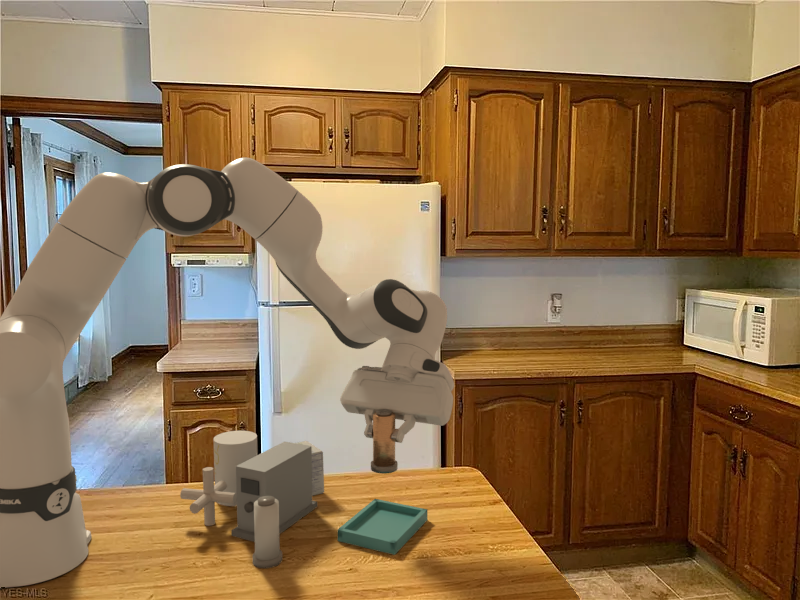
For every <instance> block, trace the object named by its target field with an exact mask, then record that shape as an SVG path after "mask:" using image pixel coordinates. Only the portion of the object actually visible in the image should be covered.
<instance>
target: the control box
mask: <svg viewBox="0 0 800 600" xmlns="http://www.w3.org/2000/svg"><path fill="white" fill-rule="evenodd" d="M296 443H297V442H291V441H282V442H281V443H279V444H277V445H275V446H273V447H271V448H270V449H267V450H265V451H262V452H261V453H259V454H258V455H257V456H255V457H253V458H251V459H249V460H247V461H245V462H243V463H241V464H239V465H237V466H236V489H237V506H236V514H237V515H236V519H237V521H236V522H237V526H236V527H234V528H233V529H231V537H236V538H238V539H243V540H245V541H250V542H253V543H255V533H254V502H255V501H257V500H258V498H260V497H262V496H273V497H274V498H275V499H277V500H278V501H279V535H280V534H282V533H283V532H285V531H286V530H287V529H289V528H290V527H292V526H293V525H294V524H295V523H297V522H298V521H300V520H301V519H302V517H303V518H304V517H305V516H307V515H308V514H310V513H312V511H315V509H317V508H318V501H315V500H313V496H312V448H311V446H308V445H302V444H296ZM299 519H300V520H299Z"/></svg>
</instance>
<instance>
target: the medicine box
mask: <svg viewBox="0 0 800 600" xmlns="http://www.w3.org/2000/svg"><path fill="white" fill-rule="evenodd" d="M295 443H296V444H302V445H308V446H311V448H312V497H314V496H317V495H321V494H324V493H325V477H324V476H325V475H324V452H323V451H322V450H321V449H320V448H318V447H317V446H315V445H314V444H313V443H311V442H309V441H308V440H304V441H299V442H298V441H297V442H295Z"/></svg>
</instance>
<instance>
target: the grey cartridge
mask: <svg viewBox="0 0 800 600" xmlns="http://www.w3.org/2000/svg"><path fill="white" fill-rule="evenodd" d="M254 533H255V542H254V552H253V553H252V565H253V566H255V567H256V568H259V569H273V568H274V567H278V566H279V565H280V564H281V563H282V562H283V551H282V550H281V549H280V548H281V547H280V534H279V501H278V500H277V499H275V498H274V497H273V496H262V497H260V498H258V500H257V501H255V502H254Z"/></svg>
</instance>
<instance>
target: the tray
mask: <svg viewBox="0 0 800 600" xmlns="http://www.w3.org/2000/svg"><path fill="white" fill-rule="evenodd" d="M427 521H428V509H427V508H422V507H418V506H417V507H416V506H412V505H409V504H402V503H398V502H392V501H388V500H383V499H378V498H374V499H372V501H370V502H369V503H368V504H367V505H365V507H363V508H362V509H360V510H359V511H358V512H357V513H356V514H354V515H353V516H352V517H351V518H350V519H348V521H346V522H345V523H343V525H341V526H340V527H339V528H338V529H337V530H336V531H337V532H336V533H337V542H340V543H345V544H348V545H352V546H356V547H361V548H365V549H369V550H374V551H378V552H381V553H385V554H389V555H393V556H394V555H396V554H397V553H398V552H399V551H400V550H401V549H402V548H403V547H404V546H405V544H406V543H407V542H409V541H410V539H411V538H412V537H413V536H414V535H415V534H416V533H417V532H418V531H419V530H420V529H421V528H422V526H423V525H424V524H426V523H427Z"/></svg>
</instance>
